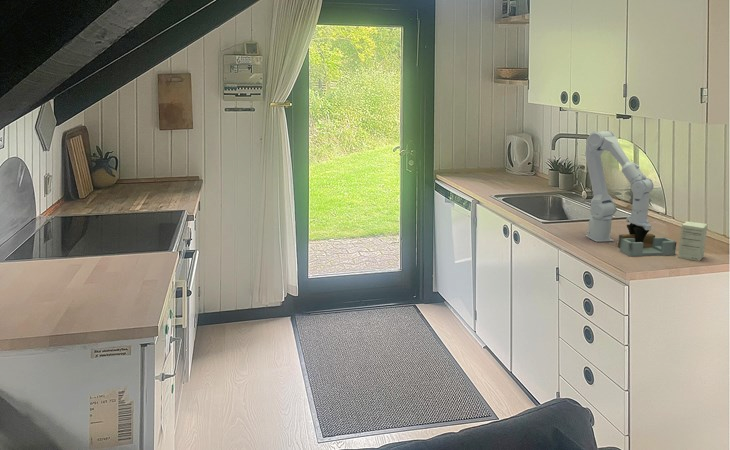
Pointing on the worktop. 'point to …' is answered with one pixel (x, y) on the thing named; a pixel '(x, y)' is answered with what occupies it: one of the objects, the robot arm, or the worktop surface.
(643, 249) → the green tray
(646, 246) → the tan brown long block
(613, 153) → the robot arm
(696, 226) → the supplement box
